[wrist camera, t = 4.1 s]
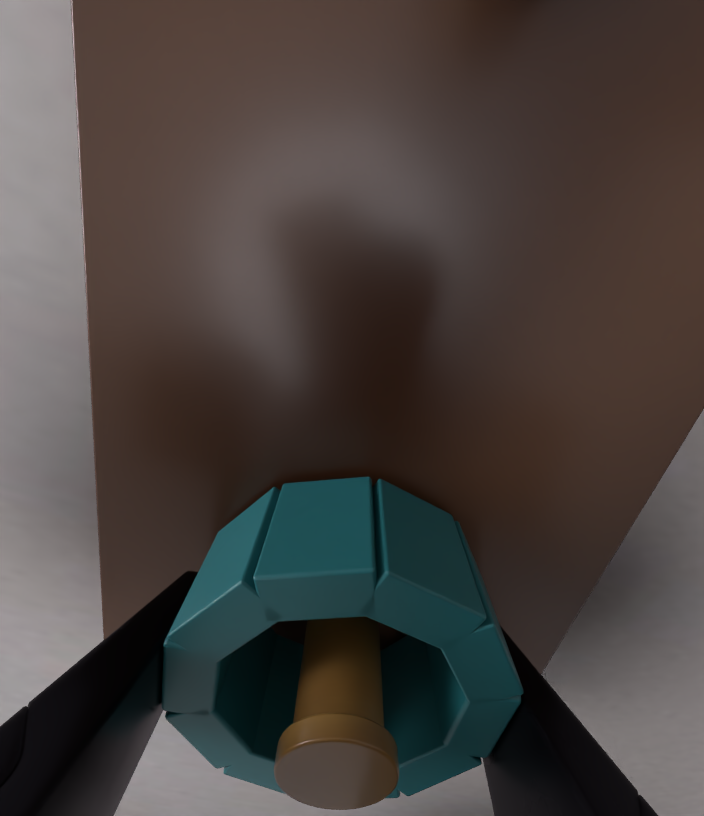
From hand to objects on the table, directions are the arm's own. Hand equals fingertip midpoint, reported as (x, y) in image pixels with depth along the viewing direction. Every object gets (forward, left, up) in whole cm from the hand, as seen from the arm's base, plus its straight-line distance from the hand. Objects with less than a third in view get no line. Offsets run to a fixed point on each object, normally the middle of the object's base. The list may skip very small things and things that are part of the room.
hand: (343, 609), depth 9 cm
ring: (0, 0, 0) cm, 0 cm away
